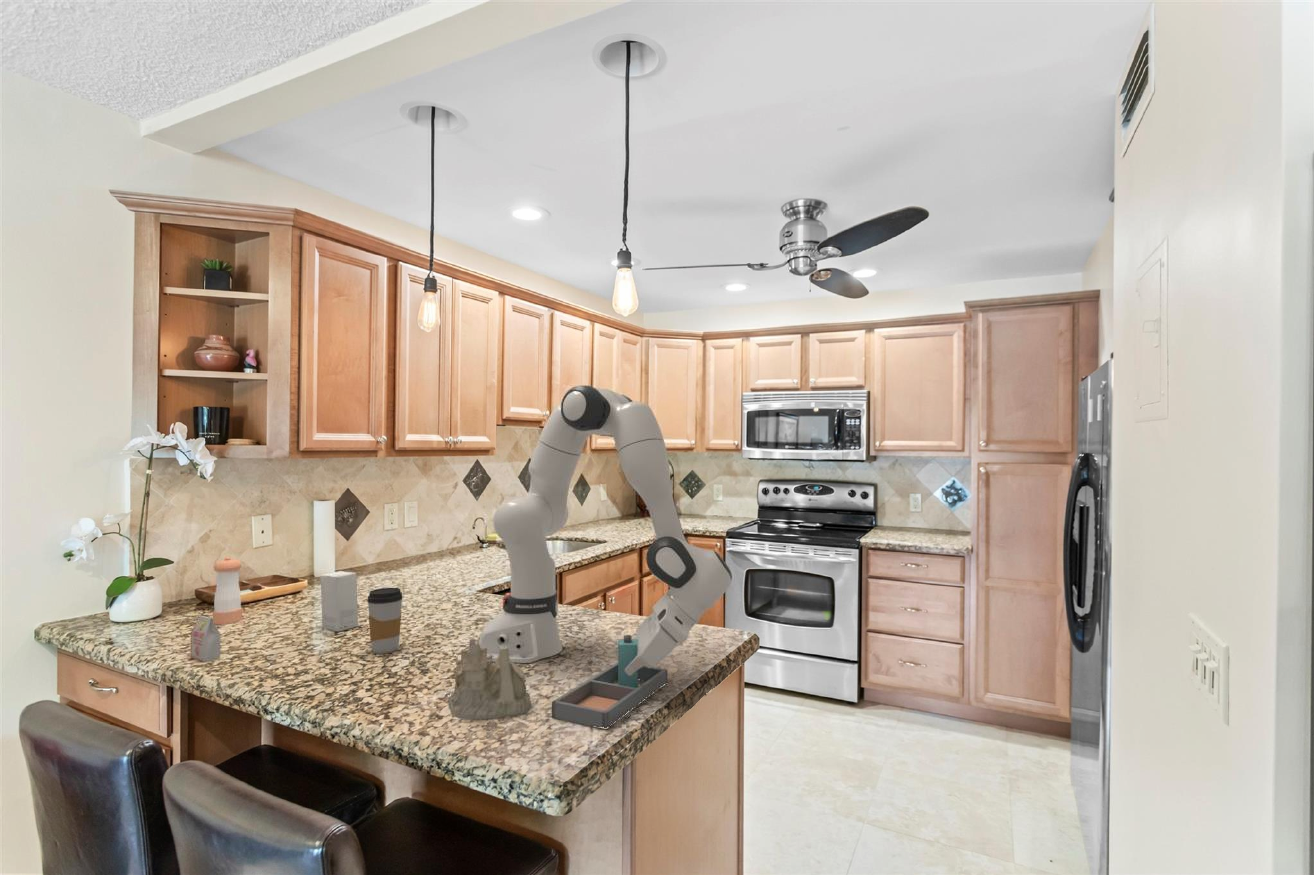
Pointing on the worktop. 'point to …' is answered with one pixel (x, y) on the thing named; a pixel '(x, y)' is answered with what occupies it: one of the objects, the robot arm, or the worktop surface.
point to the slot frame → (606, 697)
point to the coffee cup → (385, 619)
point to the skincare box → (339, 601)
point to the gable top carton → (205, 640)
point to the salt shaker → (227, 592)
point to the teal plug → (627, 661)
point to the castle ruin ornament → (488, 685)
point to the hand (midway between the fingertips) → (626, 664)
